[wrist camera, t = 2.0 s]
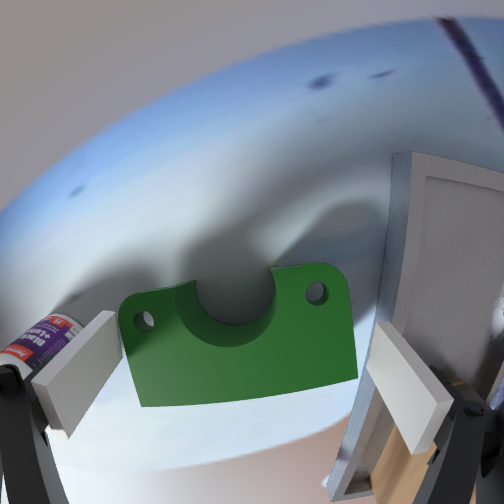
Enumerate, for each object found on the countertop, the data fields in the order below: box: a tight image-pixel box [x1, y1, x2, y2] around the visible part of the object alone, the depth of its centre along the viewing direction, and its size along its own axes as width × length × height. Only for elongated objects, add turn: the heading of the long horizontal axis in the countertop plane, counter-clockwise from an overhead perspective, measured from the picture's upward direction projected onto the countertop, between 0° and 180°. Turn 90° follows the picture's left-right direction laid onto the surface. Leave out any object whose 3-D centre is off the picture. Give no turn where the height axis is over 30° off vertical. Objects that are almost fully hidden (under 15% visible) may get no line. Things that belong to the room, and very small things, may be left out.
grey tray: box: [327, 151, 504, 502], centre depth 19 cm, size 14×30×2 cm, turn 178°
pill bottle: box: [0, 314, 84, 428], centre depth 15 cm, size 5×5×10 cm
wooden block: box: [369, 381, 492, 504], centre depth 16 cm, size 6×13×9 cm, turn 178°
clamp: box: [118, 262, 358, 407], centre depth 16 cm, size 12×6×9 cm, turn 94°
